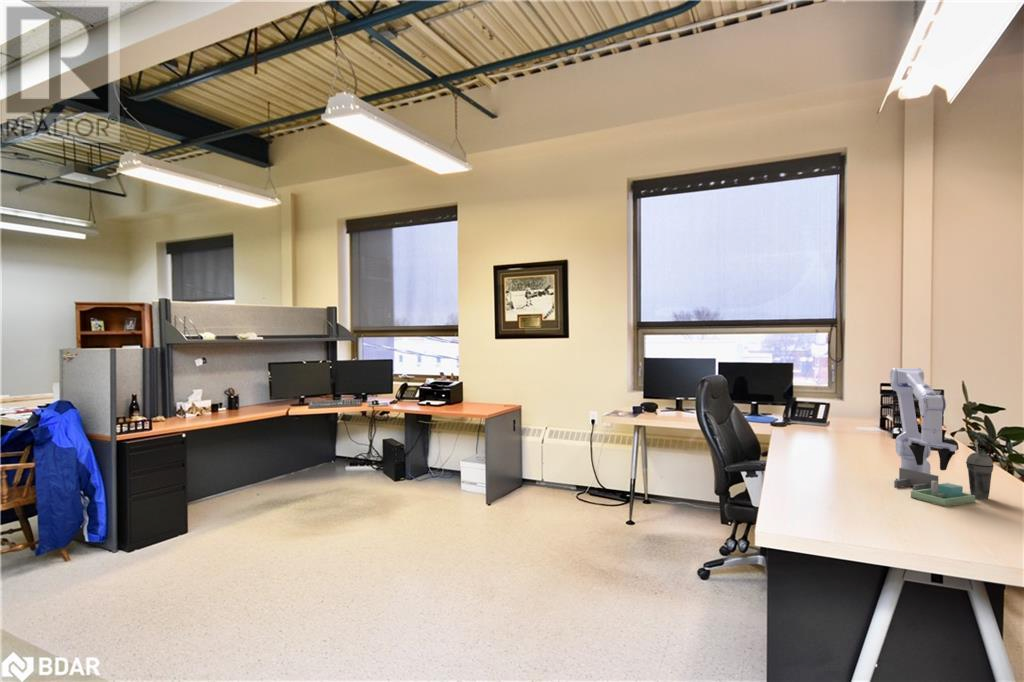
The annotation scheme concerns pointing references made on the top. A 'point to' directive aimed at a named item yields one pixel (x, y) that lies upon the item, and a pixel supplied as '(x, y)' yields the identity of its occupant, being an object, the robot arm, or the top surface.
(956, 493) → the cyan and grey piece
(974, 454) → the beverage cup
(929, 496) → the tray
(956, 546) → the top surface
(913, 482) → the rack
